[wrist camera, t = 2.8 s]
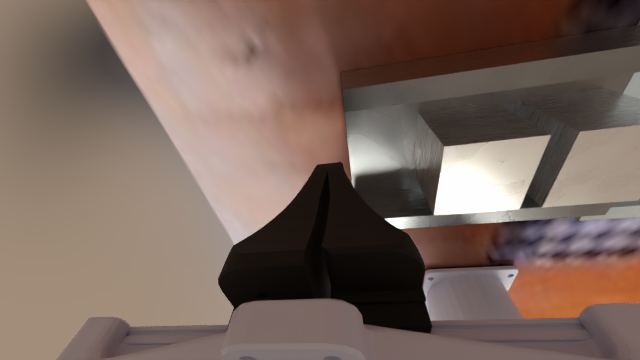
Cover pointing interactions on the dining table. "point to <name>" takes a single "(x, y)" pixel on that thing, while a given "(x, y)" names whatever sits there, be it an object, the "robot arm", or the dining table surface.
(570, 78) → the rail
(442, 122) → the cream cube
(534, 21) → the dining table surface
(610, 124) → the beige cube
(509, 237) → the dining table surface
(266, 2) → the dining table surface
